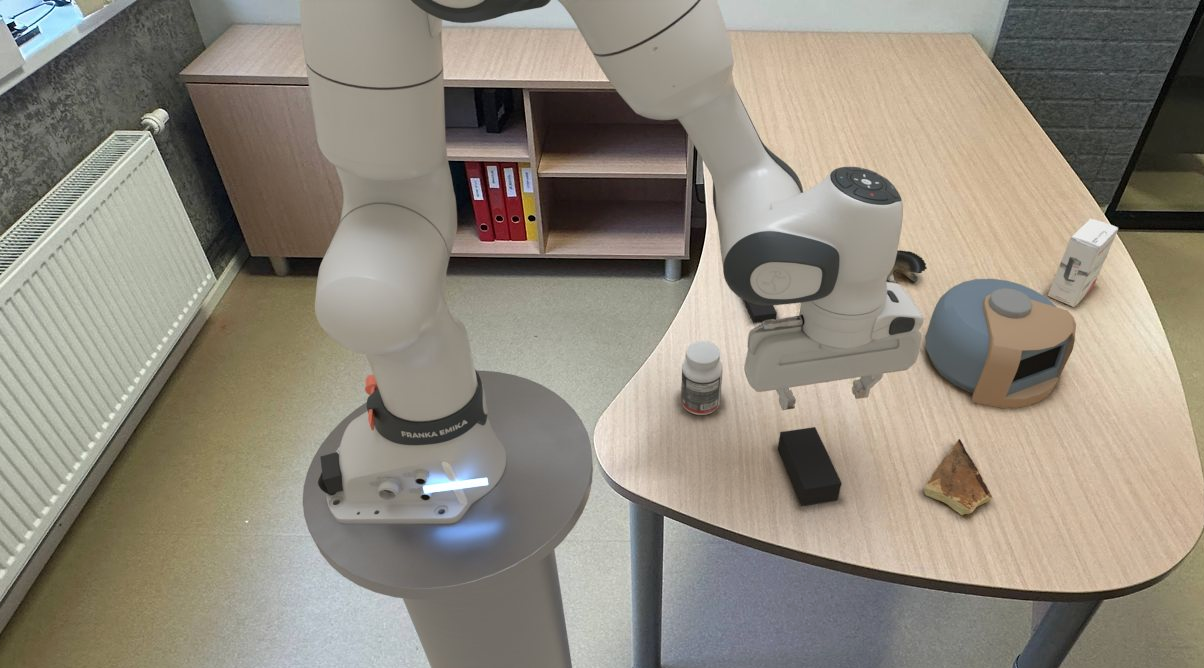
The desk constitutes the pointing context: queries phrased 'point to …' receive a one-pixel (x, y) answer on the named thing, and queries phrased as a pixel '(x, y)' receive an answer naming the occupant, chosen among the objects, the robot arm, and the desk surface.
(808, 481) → the small black block
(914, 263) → the toy dinosaur figure
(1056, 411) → the desk surface
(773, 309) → the base pad
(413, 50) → the robot arm
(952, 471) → the shard
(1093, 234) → the ink box
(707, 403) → the pill bottle
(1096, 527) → the desk surface
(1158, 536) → the desk surface
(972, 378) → the alarm clock
